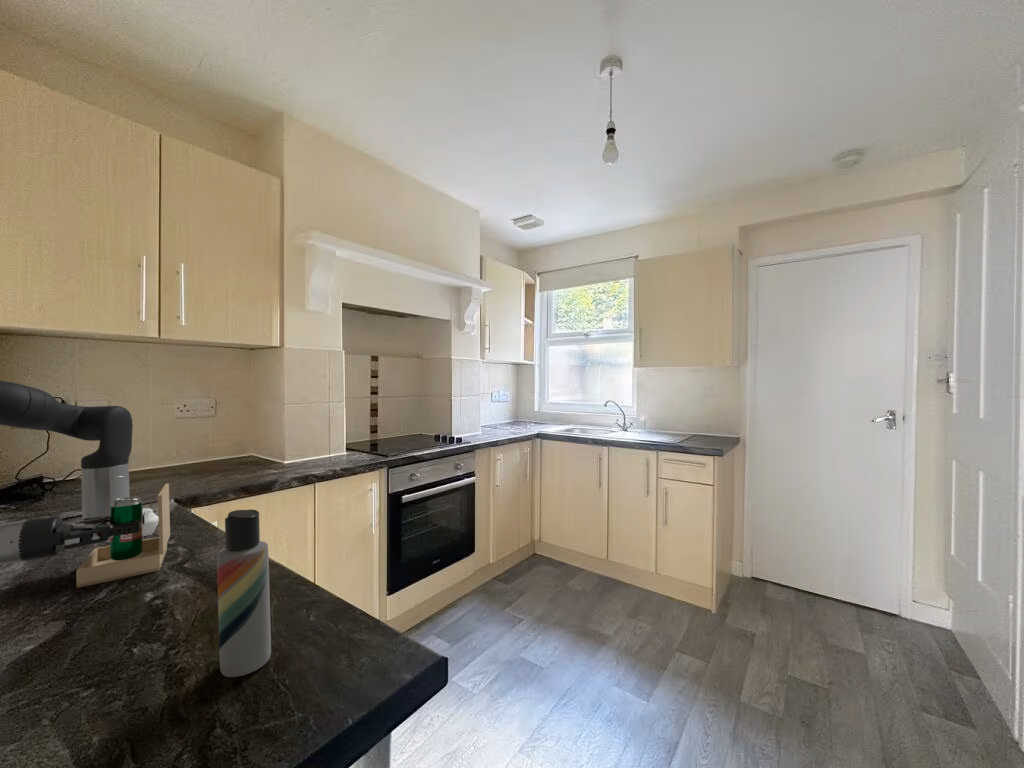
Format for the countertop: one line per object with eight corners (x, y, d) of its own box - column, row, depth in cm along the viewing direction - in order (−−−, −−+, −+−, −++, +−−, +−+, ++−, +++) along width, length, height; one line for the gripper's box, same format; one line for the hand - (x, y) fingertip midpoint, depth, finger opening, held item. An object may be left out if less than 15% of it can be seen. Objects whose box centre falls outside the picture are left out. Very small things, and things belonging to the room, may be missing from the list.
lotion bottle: (235, 651, 58) (232, 506, 58) (279, 648, 58) (275, 504, 58) (209, 680, 52) (205, 519, 52) (257, 676, 52) (253, 516, 53)
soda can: (122, 562, 85) (122, 502, 85) (103, 560, 86) (103, 501, 86) (148, 552, 90) (148, 496, 90) (129, 551, 91) (129, 495, 91)
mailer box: (95, 563, 90) (93, 492, 90) (170, 548, 97) (168, 483, 97) (76, 587, 79) (74, 506, 79) (163, 569, 86) (161, 495, 86)
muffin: (152, 529, 112) (151, 503, 112) (164, 532, 109) (164, 505, 109) (122, 537, 106) (122, 510, 106) (135, 541, 103) (134, 512, 103)
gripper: (7, 531, 74) (136, 512, 83) (37, 512, 86) (147, 498, 95) (8, 573, 74) (136, 550, 83) (37, 549, 85) (147, 531, 95)
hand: (141, 522), depth 89 cm, fingers closed on soda can, 5 cm apart
